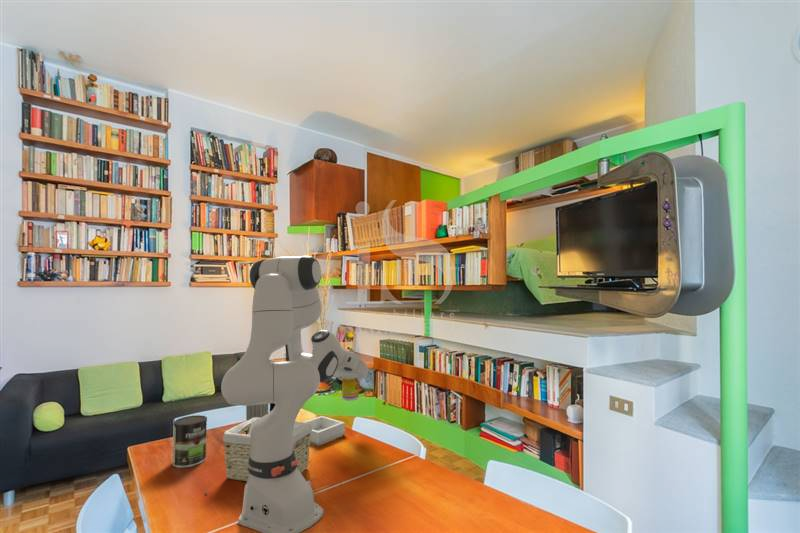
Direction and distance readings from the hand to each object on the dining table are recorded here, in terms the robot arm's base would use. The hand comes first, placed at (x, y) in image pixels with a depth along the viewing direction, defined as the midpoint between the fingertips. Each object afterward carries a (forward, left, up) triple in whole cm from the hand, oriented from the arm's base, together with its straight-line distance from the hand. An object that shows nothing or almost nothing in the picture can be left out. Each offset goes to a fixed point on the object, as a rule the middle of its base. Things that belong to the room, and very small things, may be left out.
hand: (350, 379), depth 160 cm
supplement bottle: (0, 0, -8) cm, 8 cm away
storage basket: (-2, +40, -22) cm, 46 cm away
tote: (+9, +9, -22) cm, 25 cm away
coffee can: (+28, +51, -22) cm, 62 cm away
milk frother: (+34, +22, -22) cm, 47 cm away
